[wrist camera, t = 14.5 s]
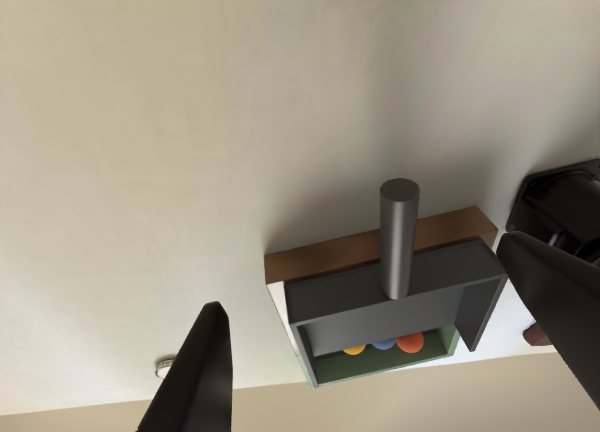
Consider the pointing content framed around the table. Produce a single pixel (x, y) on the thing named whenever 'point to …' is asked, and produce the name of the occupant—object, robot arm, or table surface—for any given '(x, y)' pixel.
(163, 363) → the white bottle cap
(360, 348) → the mustard ball
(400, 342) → the terracotta ball
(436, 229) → the stand
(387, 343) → the slate-blue ball
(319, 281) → the pan
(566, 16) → the table surface
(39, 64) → the table surface
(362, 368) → the bin
